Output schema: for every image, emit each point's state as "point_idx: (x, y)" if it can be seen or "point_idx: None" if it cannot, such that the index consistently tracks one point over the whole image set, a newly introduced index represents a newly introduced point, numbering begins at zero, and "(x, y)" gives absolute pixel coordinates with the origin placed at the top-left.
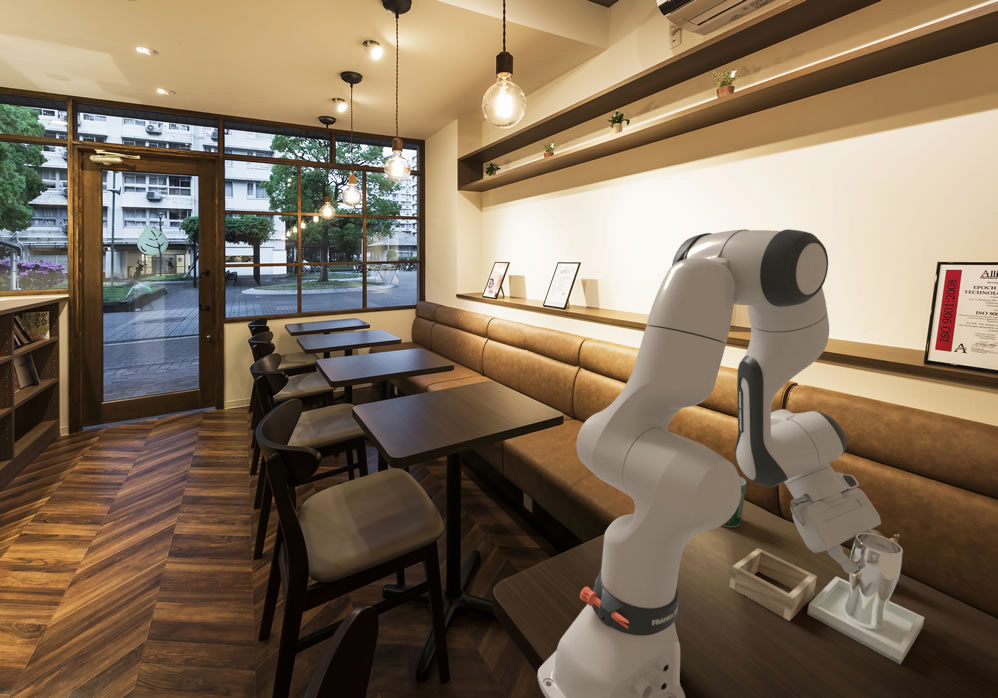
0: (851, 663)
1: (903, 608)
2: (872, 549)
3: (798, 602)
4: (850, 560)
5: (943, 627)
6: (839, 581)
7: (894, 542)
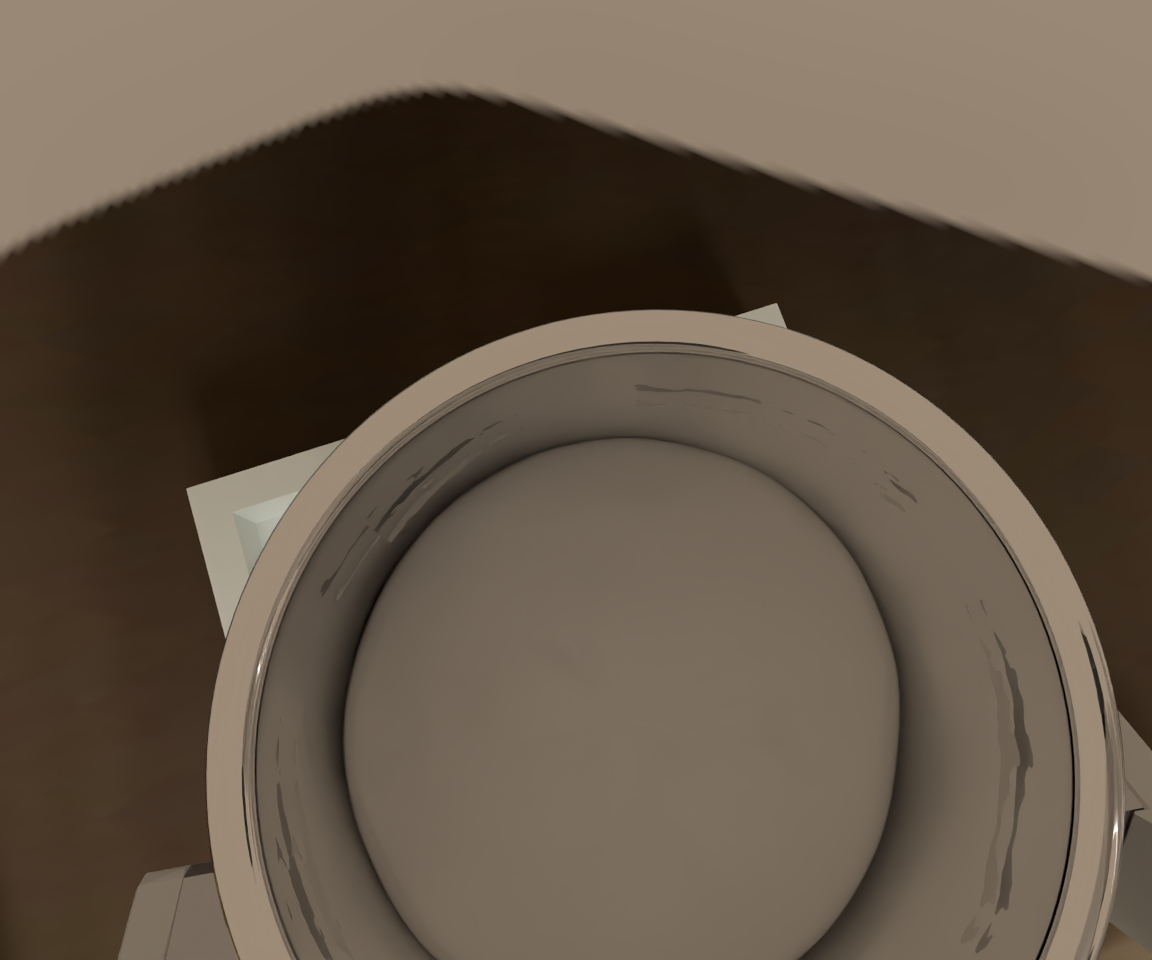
0: (1068, 437)
1: (233, 614)
2: (1079, 605)
3: (1114, 948)
4: (1149, 803)
5: (49, 465)
6: None
7: (252, 644)
